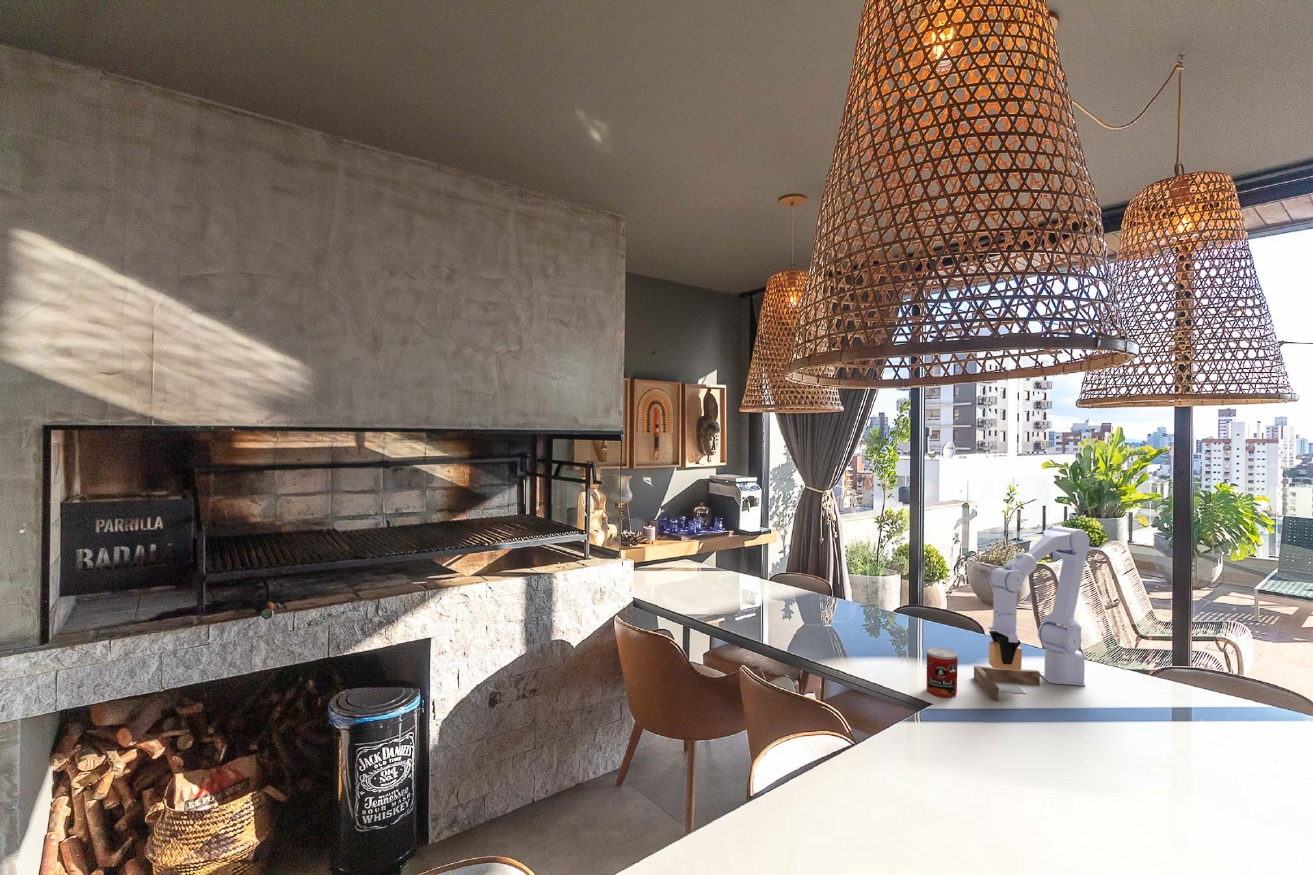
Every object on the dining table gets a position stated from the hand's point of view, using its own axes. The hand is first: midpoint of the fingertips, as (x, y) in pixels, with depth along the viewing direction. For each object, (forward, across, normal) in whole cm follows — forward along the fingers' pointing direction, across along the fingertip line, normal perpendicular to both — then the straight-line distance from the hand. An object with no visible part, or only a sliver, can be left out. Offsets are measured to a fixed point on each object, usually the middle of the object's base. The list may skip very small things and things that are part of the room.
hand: (1004, 660), depth 183 cm
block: (+2, 0, 0) cm, 2 cm away
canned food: (+8, +8, -18) cm, 21 cm away
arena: (+8, +2, +3) cm, 8 cm away
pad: (+8, -1, 0) cm, 8 cm away
